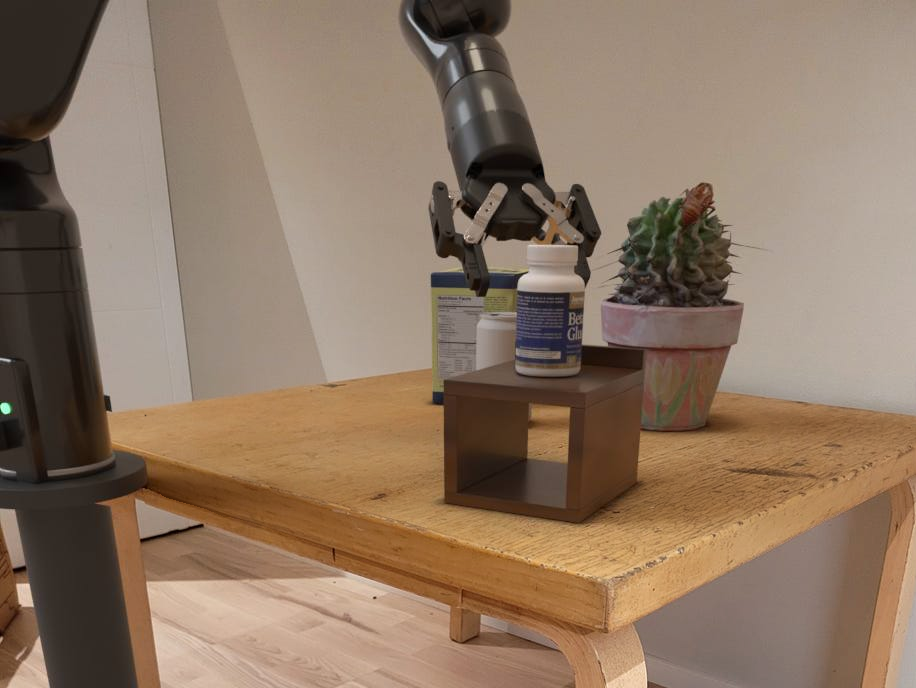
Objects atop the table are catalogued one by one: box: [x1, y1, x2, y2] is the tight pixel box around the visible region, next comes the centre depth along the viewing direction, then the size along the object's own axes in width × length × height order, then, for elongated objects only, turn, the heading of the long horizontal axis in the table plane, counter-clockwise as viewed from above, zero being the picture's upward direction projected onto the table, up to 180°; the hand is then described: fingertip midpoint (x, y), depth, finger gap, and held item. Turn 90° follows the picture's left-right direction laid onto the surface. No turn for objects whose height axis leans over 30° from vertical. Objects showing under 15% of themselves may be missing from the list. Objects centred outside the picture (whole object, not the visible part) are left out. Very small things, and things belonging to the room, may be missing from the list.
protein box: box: [430, 266, 530, 405], centre depth 123 cm, size 10×16×16 cm
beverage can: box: [476, 312, 533, 421], centre depth 107 cm, size 6×6×12 cm
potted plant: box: [587, 181, 774, 432], centre depth 106 cm, size 18×20×25 cm
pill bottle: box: [515, 244, 586, 377], centre depth 77 cm, size 5×5×10 cm
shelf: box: [443, 341, 647, 524], centre depth 80 cm, size 14×12×12 cm
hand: (533, 289), depth 80 cm, fingers open, 8 cm apart
